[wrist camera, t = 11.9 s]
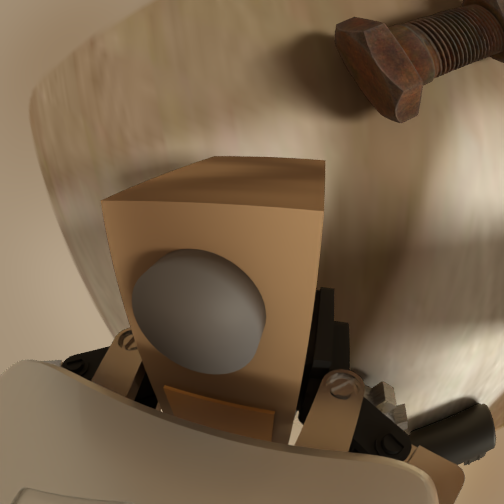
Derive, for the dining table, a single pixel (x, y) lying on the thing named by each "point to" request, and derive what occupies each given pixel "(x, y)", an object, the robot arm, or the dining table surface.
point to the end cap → (459, 435)
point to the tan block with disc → (222, 286)
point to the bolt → (417, 52)
